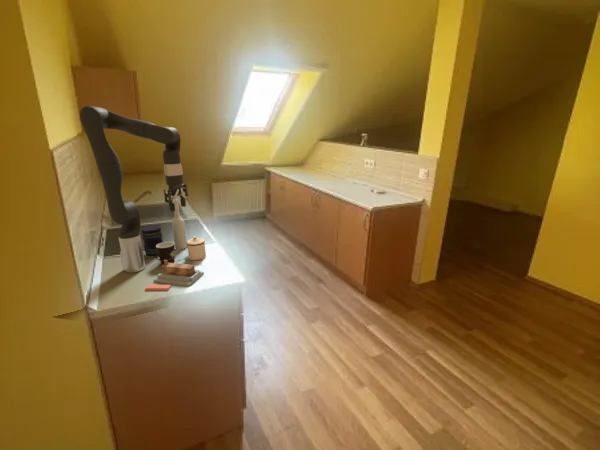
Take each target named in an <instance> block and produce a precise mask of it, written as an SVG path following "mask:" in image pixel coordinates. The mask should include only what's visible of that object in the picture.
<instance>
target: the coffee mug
mask: <svg viewBox="0 0 600 450" xmlns="http://www.w3.org/2000/svg"><path fill="white" fill-rule="evenodd" d="M156 248H157V253H158V255H159V256H157V253H156V255H155V257H154V258H155V259H156V260H157V261H159V262H160V265H161V266H162V265H164V260H168V263H174V262H175V259H176V258H175V251H176V249H175V243H174V241H163V243H159V244H157V245H156ZM175 263H176V262H175Z"/></svg>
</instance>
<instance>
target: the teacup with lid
mask: <svg viewBox="0 0 600 450" xmlns="http://www.w3.org/2000/svg"><path fill="white" fill-rule="evenodd" d="M205 241H206V240H205V239H204V238H200V237H198V236H196V235H194V236H193V237H192V238H191V239H188V240H187V244H186V246H187V248H186V249H187V251H188V252H187V254H188V259H189V260H190V261H200V260H204V259H206V256H207V255H206V253H207V252H206V245H205V244H206V243H205Z"/></svg>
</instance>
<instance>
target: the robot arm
mask: <svg viewBox="0 0 600 450" xmlns="http://www.w3.org/2000/svg"><path fill="white" fill-rule="evenodd" d="M79 120H80V122H81V126H82V128H83V130H84V132H85V135H86V137H87V139H88V142H89V145H90V147H91V150H92V151H91V152H92V154H93V157H94V160H95V164H96V166H97V170H98V173H99V176H100V178H101V183H102V185H103V186H102V187H103V189H104V193H105V197H106V203H107V207H108V211H109V215H110V218H111V219H112V221H113V222H114V223H115V224H116V225H121V226H120V228H119V230H118V231H117V237H118V242H119V246H120V251H119V256H120V262H121V266H122V270H123V271H124V272H126V273H137V272H138V273H139V272H141V271H142V270H145V268H146V267H147V266H146V262H145V253H144V249H143V243H142V236H141V228H142V227H141V225H142V224H141V216H140V210H139V207H138V205H137V204H136V203H135V202H134V201H131V200H128V201H124V200H123V196H122V185H123V179H124V171H123V167H122V164H121V160H120V158H119V156H118V154H117V153H116V151H115V149H114V148H113V147H112V146H111V145H110V143H109V141H108V140H107V137H106V134H105V131H104V130H105V129H108V130H109V129H110V130H117V131H122V132H124V133H127V134H129V135H131V136H134V137H137V138H138V137H139V138H142V139H147V140H152V141H154V142H157V143H159V144H164V145H165V146H164V148H165V149H164V150H163V153H162V159H163V165H164V166H163V167H164V168H163V170H164V171H163V172H164V177H165V179H164V180H165V185H167V186H168V188H164V189H163V194H164V195H163V196H164V202H165V204H168V206H169V211H170V212H174V211H175V204H174V201H175V199H177V197H179V199H180V207H187V203H186V199H187V197H189V193H188V185H187V184H185V182H184V173H183V167H182V162H181V161H182V160H181V153H180V151H181V135H180V132H179V130H178V129H177V128H175V127H173V126H172V127H171V126H162V125H161V126H160V125H157V124H155V123H153V122H150V121H146V120H141V119H136V118H133V117H132V118H131V117H128V116H123V115H120V114H118V113H115V112H113V111H110V110H108V109H105V108H103V107H101V106H93V105H85V106H83V107H82V108H81V109H80V110H79Z"/></svg>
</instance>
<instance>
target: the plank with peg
mask: <svg viewBox="0 0 600 450" xmlns="http://www.w3.org/2000/svg"><path fill="white" fill-rule="evenodd" d="M161 270H162V271H161V272H162V273H163V274H169V275H178V276H187V277H192V276H193V275H194V274H195V270H196V269H195V265H194V264H188V263H187V264H186V263H176V262H175V263H168V260H164V265H161Z"/></svg>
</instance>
